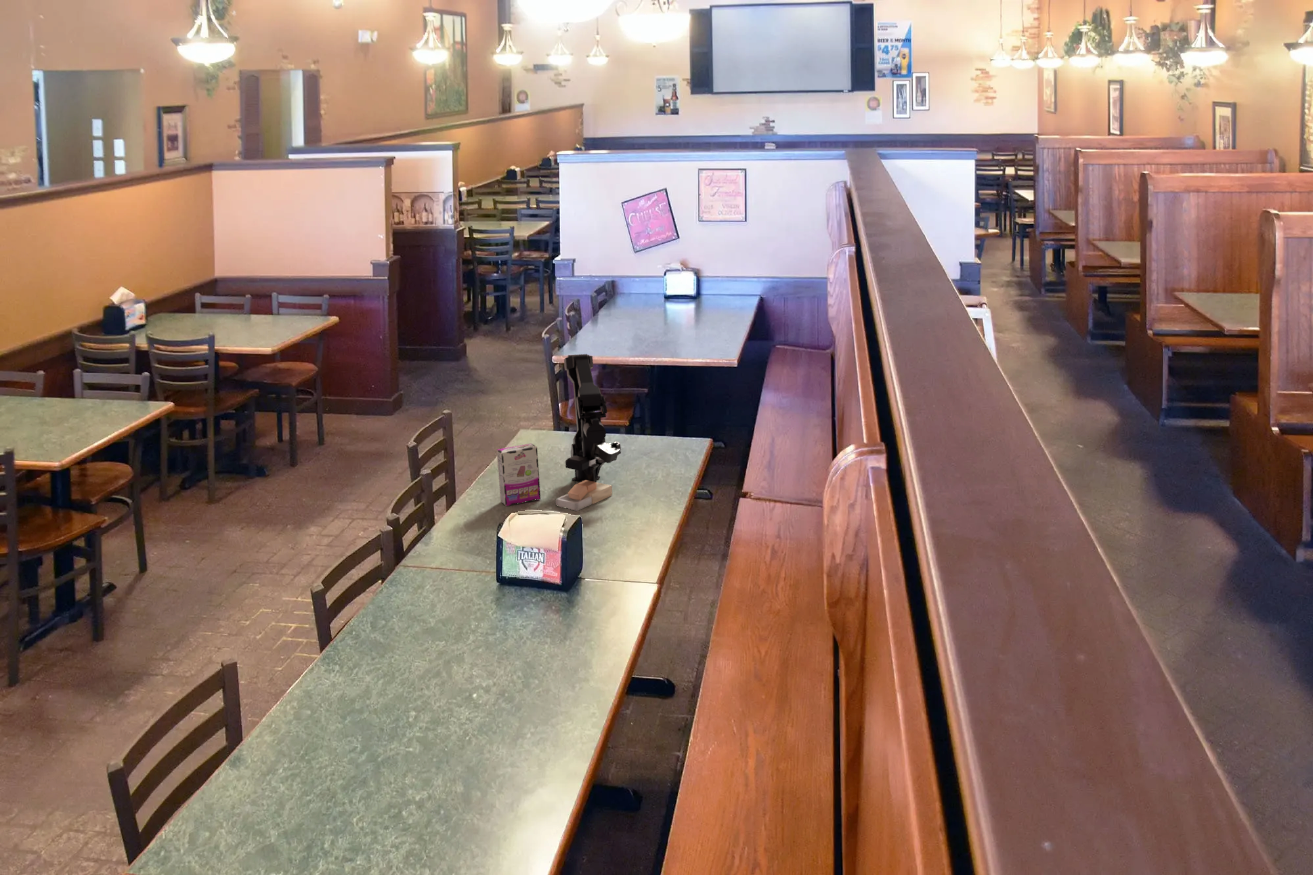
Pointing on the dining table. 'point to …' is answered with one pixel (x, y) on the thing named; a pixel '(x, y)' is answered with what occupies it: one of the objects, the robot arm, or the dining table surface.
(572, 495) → the tile front
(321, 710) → the dining table surface
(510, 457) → the candy bar box
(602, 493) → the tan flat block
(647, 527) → the dining table surface
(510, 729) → the dining table surface
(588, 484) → the tile rear
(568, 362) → the robot arm
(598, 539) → the dining table surface
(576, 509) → the tray
